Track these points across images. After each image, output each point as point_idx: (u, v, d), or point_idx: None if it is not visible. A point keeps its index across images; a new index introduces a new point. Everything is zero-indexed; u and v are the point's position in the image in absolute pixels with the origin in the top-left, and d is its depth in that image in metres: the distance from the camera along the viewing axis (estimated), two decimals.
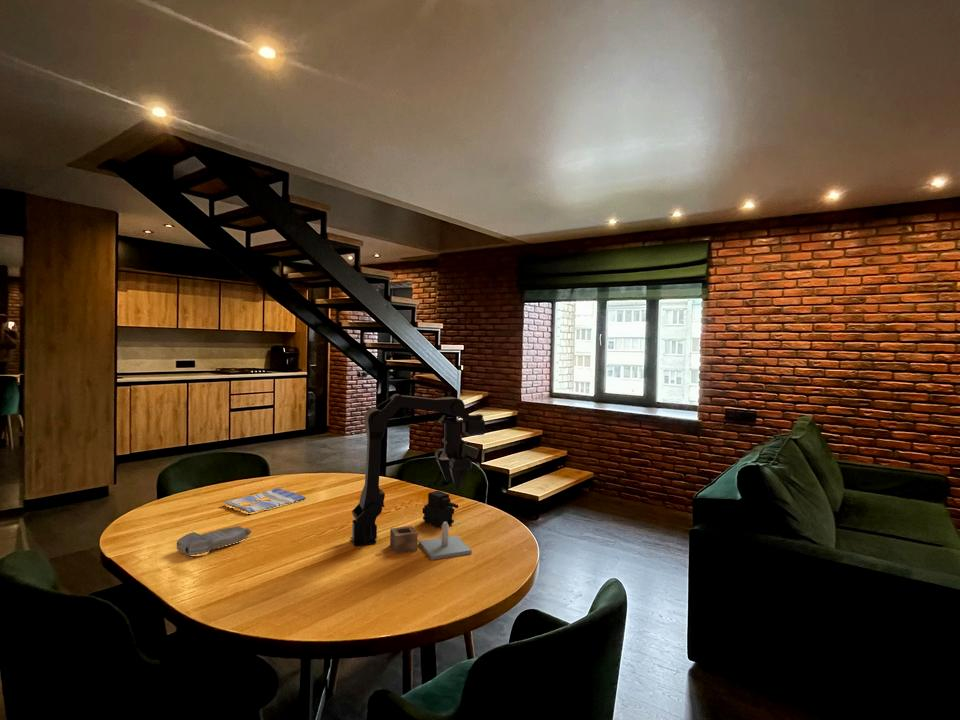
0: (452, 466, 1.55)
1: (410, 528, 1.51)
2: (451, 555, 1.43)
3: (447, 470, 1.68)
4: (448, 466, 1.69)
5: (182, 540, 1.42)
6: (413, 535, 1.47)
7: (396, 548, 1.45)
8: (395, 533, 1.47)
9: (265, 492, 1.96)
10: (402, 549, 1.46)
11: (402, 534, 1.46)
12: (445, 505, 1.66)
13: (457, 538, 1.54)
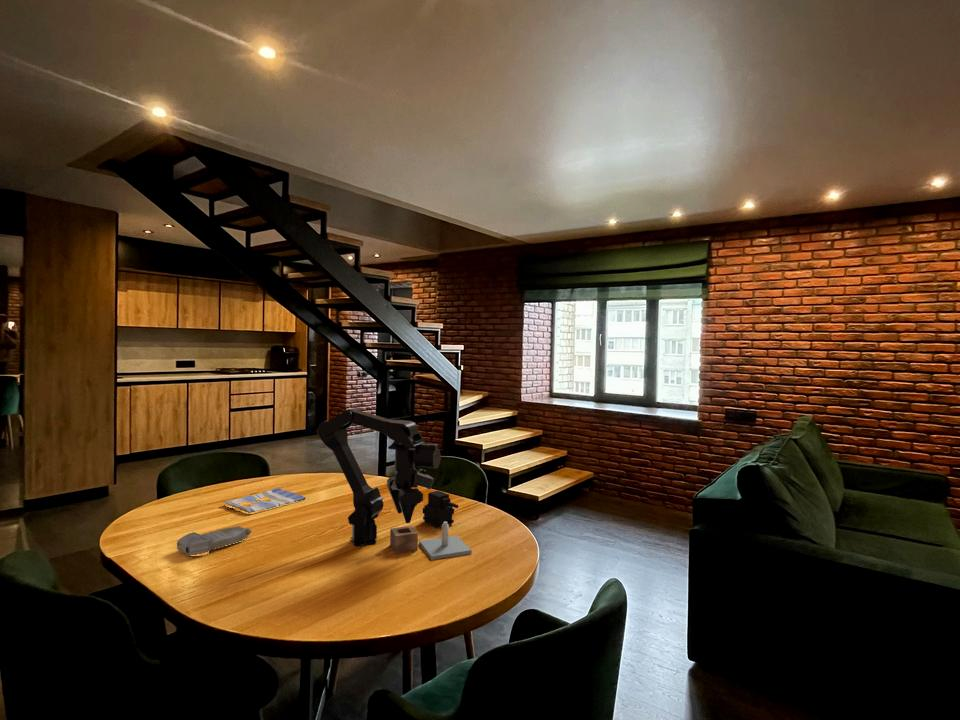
0: (401, 499, 1.40)
1: (410, 528, 1.51)
2: (451, 555, 1.43)
3: None
4: None
5: (183, 540, 1.42)
6: (413, 535, 1.47)
7: (396, 548, 1.45)
8: (395, 533, 1.47)
9: (265, 492, 1.96)
10: (402, 549, 1.46)
11: (402, 534, 1.46)
12: (445, 505, 1.66)
13: (457, 538, 1.54)
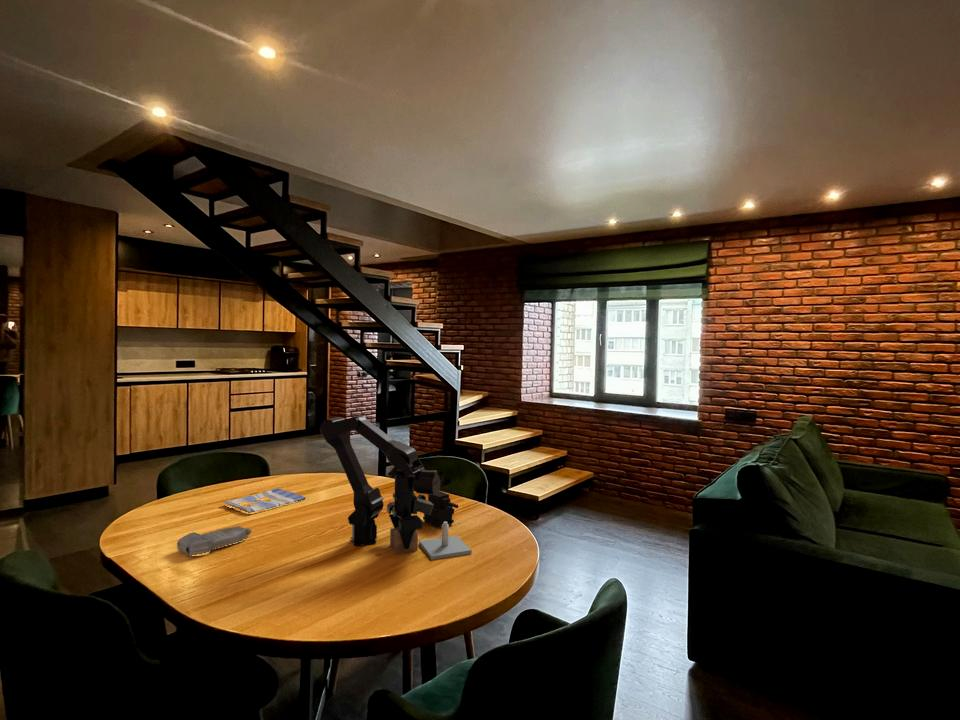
0: (400, 527, 1.40)
1: None
2: (451, 555, 1.43)
3: None
4: None
5: (183, 540, 1.42)
6: (413, 535, 1.47)
7: (396, 548, 1.45)
8: (395, 533, 1.47)
9: (265, 492, 1.96)
10: (402, 549, 1.46)
11: None
12: (445, 505, 1.66)
13: (457, 538, 1.54)
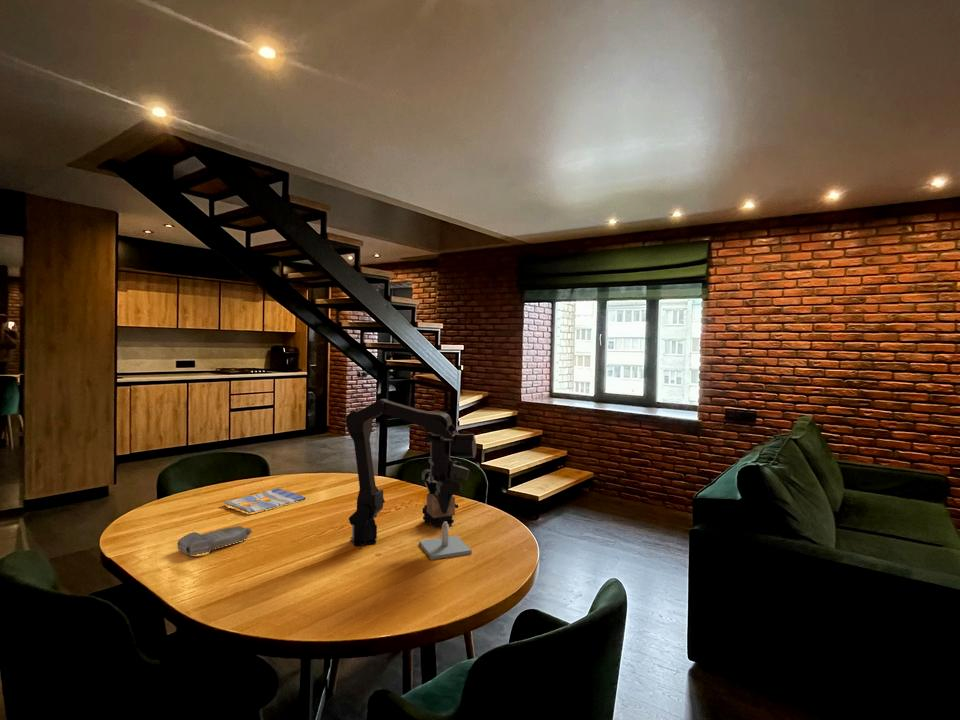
0: (439, 490, 1.40)
1: None
2: (451, 555, 1.43)
3: None
4: None
5: (183, 540, 1.42)
6: (450, 500, 1.46)
7: (434, 513, 1.44)
8: (432, 498, 1.46)
9: (265, 492, 1.96)
10: (440, 514, 1.45)
11: None
12: None
13: (457, 538, 1.54)
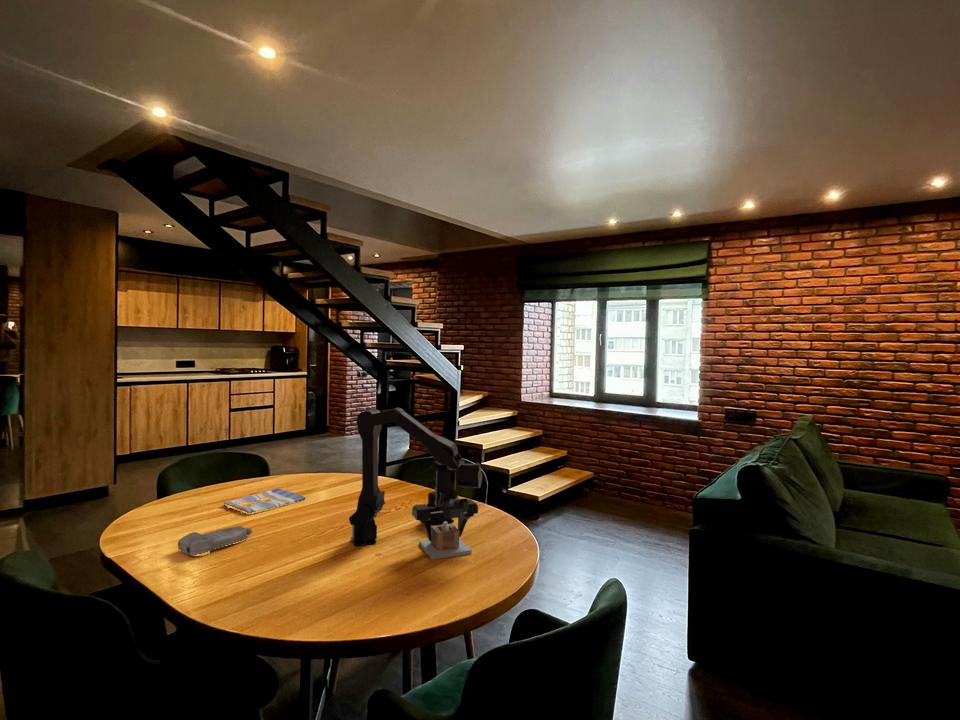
0: None
1: (452, 530, 1.47)
2: (451, 555, 1.43)
3: (460, 524, 1.51)
4: (461, 520, 1.50)
5: (184, 540, 1.42)
6: (436, 533, 1.46)
7: None
8: (437, 525, 1.51)
9: (265, 492, 1.96)
10: (432, 542, 1.49)
11: (435, 528, 1.49)
12: None
13: None
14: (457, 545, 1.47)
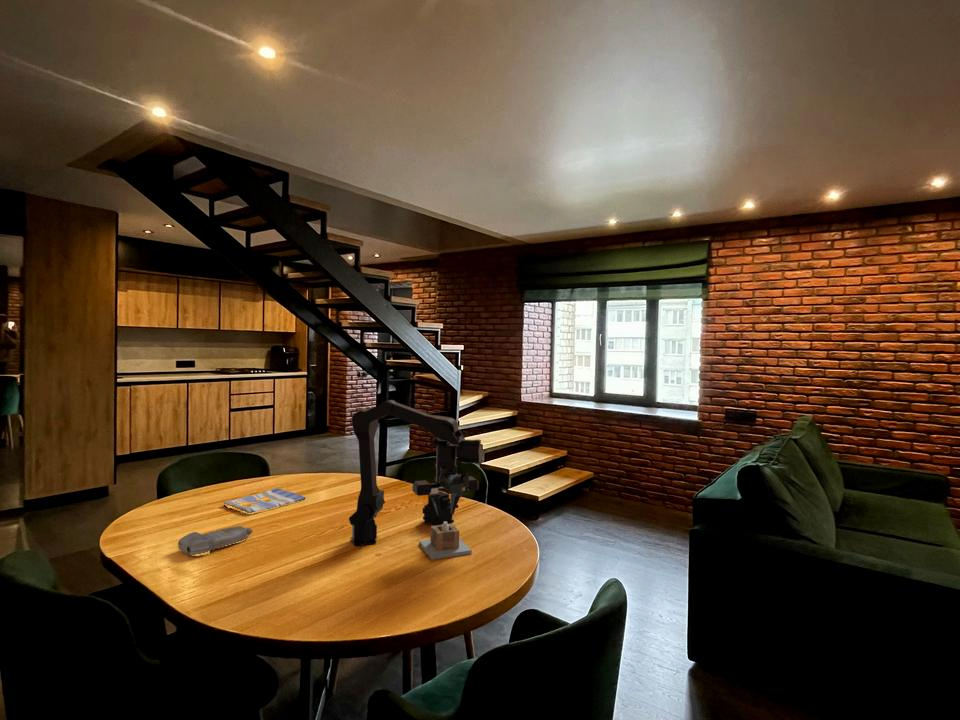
0: None
1: (452, 530, 1.47)
2: (451, 555, 1.43)
3: (452, 501, 1.49)
4: (453, 498, 1.49)
5: (184, 540, 1.42)
6: (436, 533, 1.46)
7: None
8: (437, 525, 1.51)
9: (265, 492, 1.96)
10: (432, 542, 1.49)
11: (435, 528, 1.49)
12: (445, 505, 1.66)
13: None
14: (457, 545, 1.47)
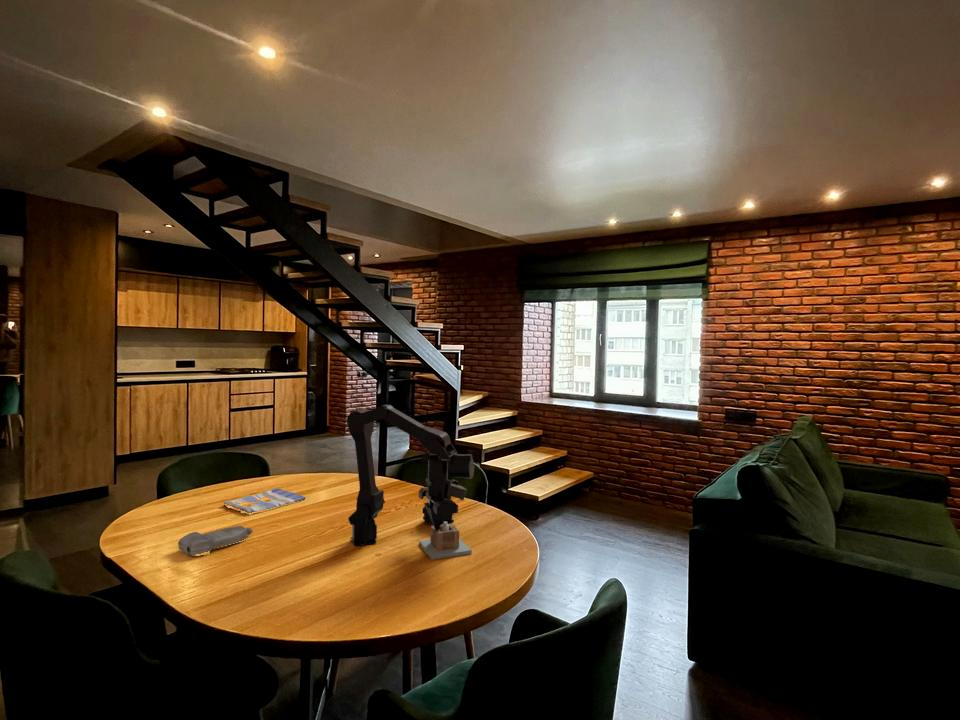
0: (436, 511, 1.39)
1: (452, 530, 1.47)
2: (451, 555, 1.43)
3: None
4: None
5: (184, 540, 1.42)
6: (436, 533, 1.46)
7: None
8: None
9: (265, 492, 1.96)
10: (432, 542, 1.49)
11: None
12: None
13: None
14: (457, 545, 1.47)
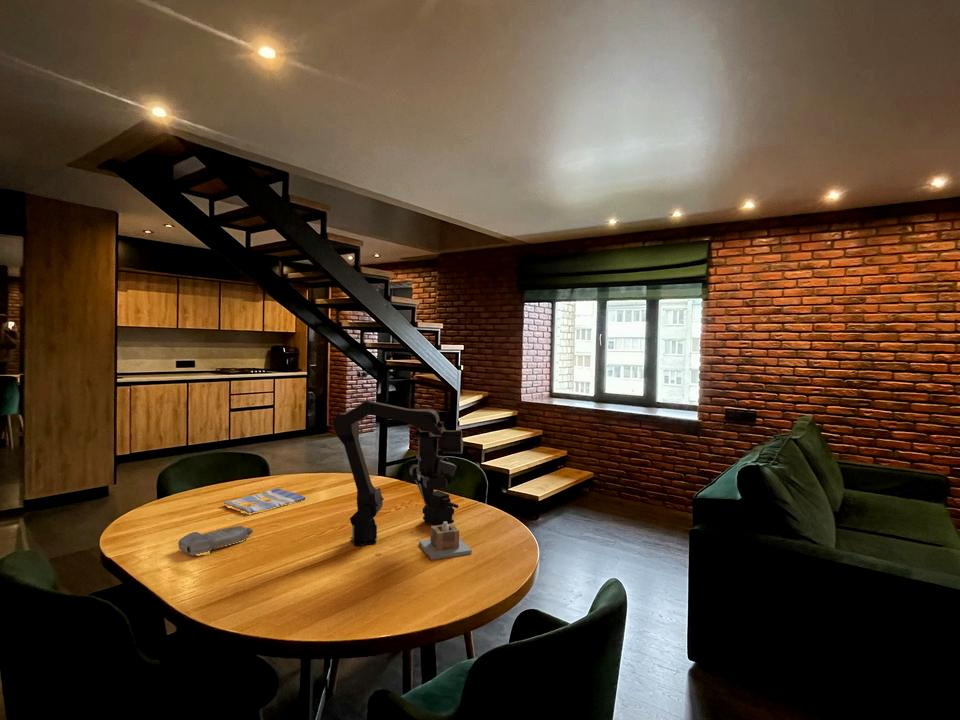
0: (425, 485, 1.43)
1: (452, 530, 1.47)
2: (451, 555, 1.43)
3: None
4: None
5: (184, 540, 1.43)
6: (436, 533, 1.46)
7: None
8: (437, 525, 1.51)
9: (265, 492, 1.96)
10: (432, 542, 1.49)
11: (435, 528, 1.49)
12: (445, 505, 1.66)
13: None
14: (457, 545, 1.47)
